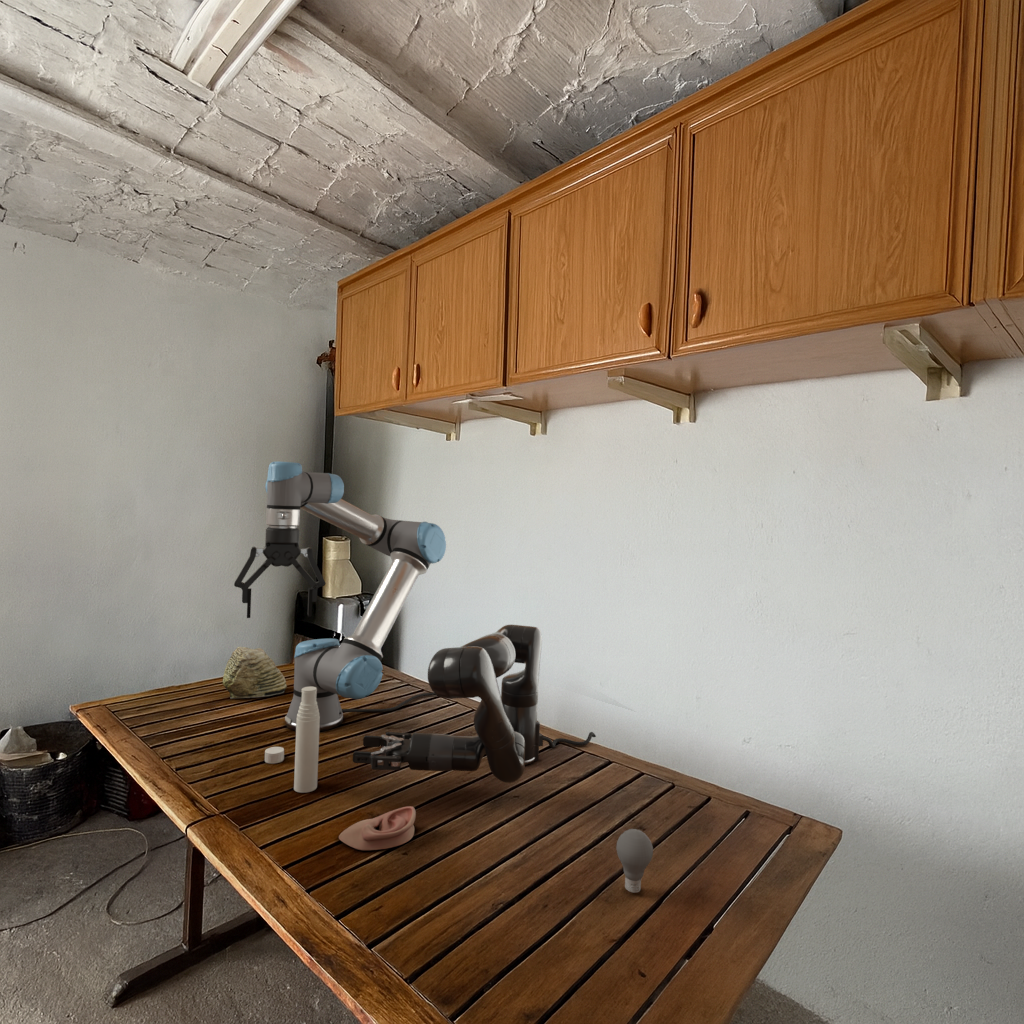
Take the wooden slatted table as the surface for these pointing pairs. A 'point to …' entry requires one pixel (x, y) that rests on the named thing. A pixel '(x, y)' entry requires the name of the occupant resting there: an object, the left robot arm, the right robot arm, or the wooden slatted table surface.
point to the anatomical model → (381, 830)
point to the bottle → (307, 742)
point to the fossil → (252, 674)
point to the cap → (274, 755)
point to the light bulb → (634, 857)
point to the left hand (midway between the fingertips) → (279, 616)
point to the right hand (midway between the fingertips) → (358, 748)
